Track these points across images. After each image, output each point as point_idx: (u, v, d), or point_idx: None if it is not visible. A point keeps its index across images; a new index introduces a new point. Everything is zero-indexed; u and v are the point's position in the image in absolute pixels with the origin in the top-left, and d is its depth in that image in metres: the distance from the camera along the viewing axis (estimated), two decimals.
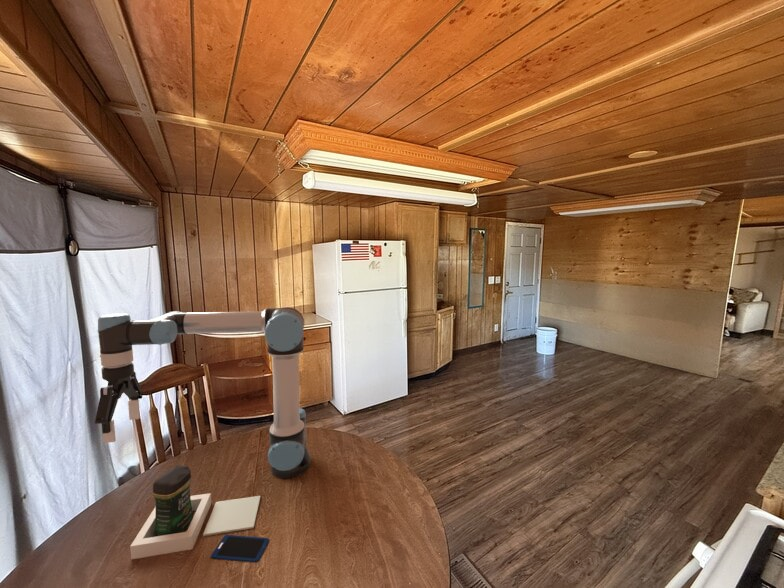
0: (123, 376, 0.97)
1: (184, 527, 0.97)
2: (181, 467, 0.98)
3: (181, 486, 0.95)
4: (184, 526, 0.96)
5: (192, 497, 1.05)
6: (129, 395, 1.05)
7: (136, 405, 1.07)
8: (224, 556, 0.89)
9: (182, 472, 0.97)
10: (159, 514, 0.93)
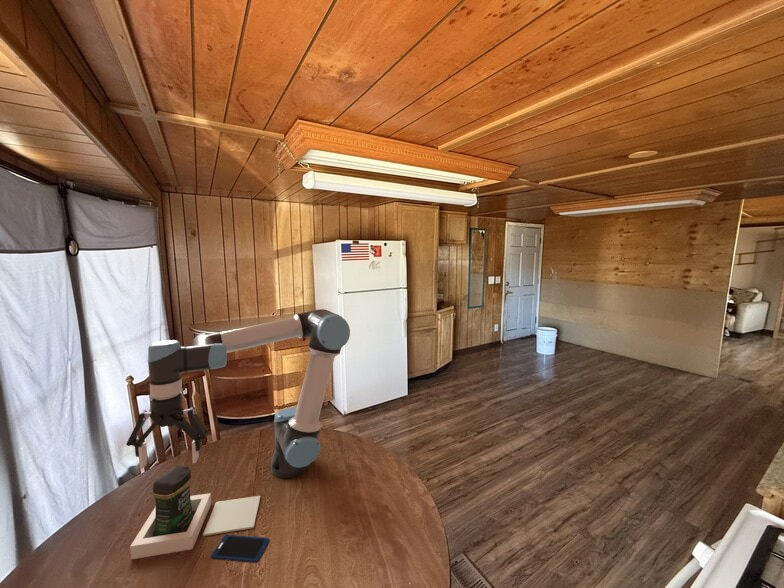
0: (152, 409, 0.90)
1: (184, 527, 0.97)
2: (181, 467, 0.98)
3: (181, 486, 0.95)
4: (184, 526, 0.96)
5: (192, 497, 1.05)
6: None
7: None
8: (224, 556, 0.89)
9: (182, 472, 0.97)
10: (159, 514, 0.93)
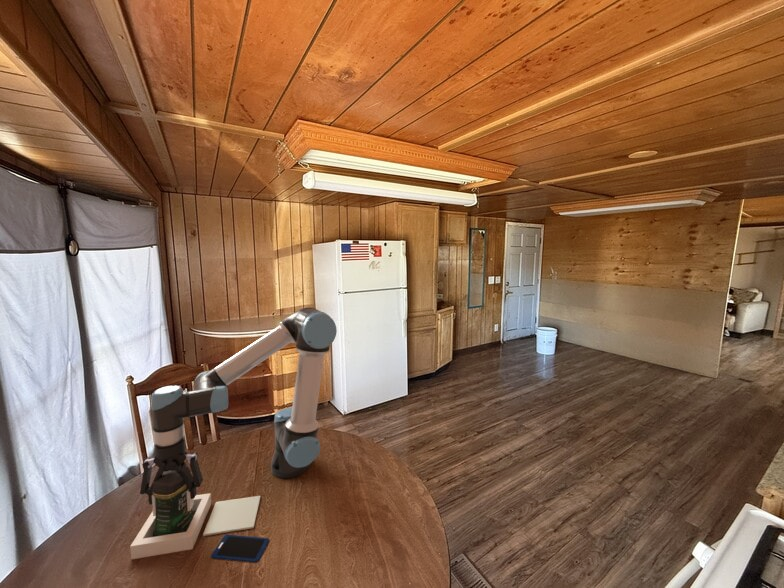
0: (155, 455, 0.92)
1: (184, 527, 0.97)
2: None
3: (181, 486, 0.95)
4: (184, 526, 0.96)
5: None
6: None
7: None
8: (224, 556, 0.89)
9: None
10: (159, 514, 0.93)
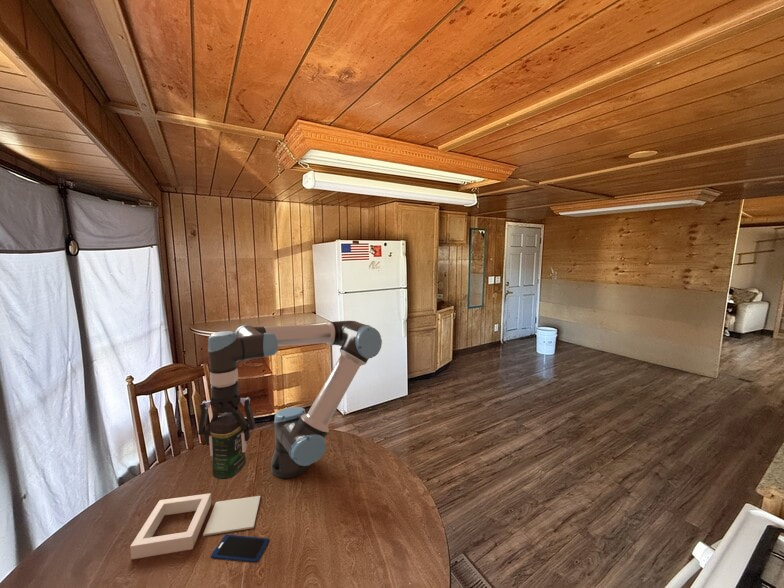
0: (213, 396, 0.95)
1: (239, 468, 1.00)
2: None
3: (236, 427, 0.98)
4: (239, 466, 1.00)
5: (192, 497, 1.05)
6: None
7: None
8: (224, 556, 0.89)
9: None
10: (217, 454, 0.97)
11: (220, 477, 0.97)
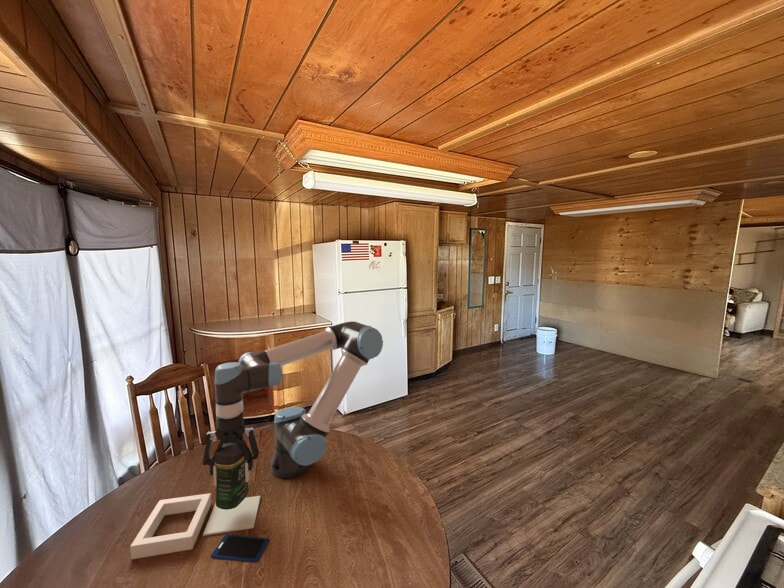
0: (218, 427, 0.97)
1: (242, 497, 1.01)
2: None
3: (241, 457, 0.99)
4: (242, 496, 1.01)
5: (192, 497, 1.05)
6: None
7: None
8: (224, 556, 0.89)
9: None
10: (221, 484, 0.98)
11: (223, 507, 0.98)
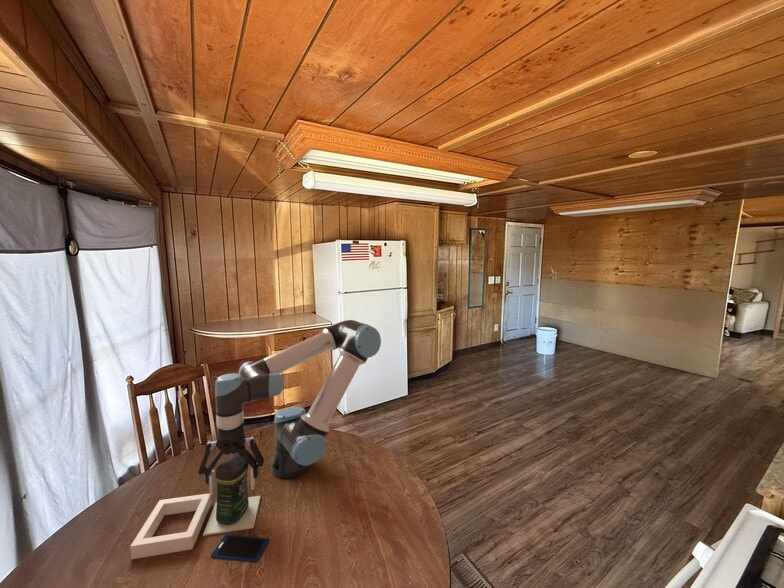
0: (219, 439, 0.97)
1: (243, 512, 1.02)
2: (239, 455, 1.04)
3: (242, 473, 1.00)
4: (243, 511, 1.02)
5: (192, 497, 1.05)
6: None
7: None
8: (224, 556, 0.89)
9: (241, 460, 1.02)
10: (222, 499, 0.98)
11: (224, 522, 0.98)
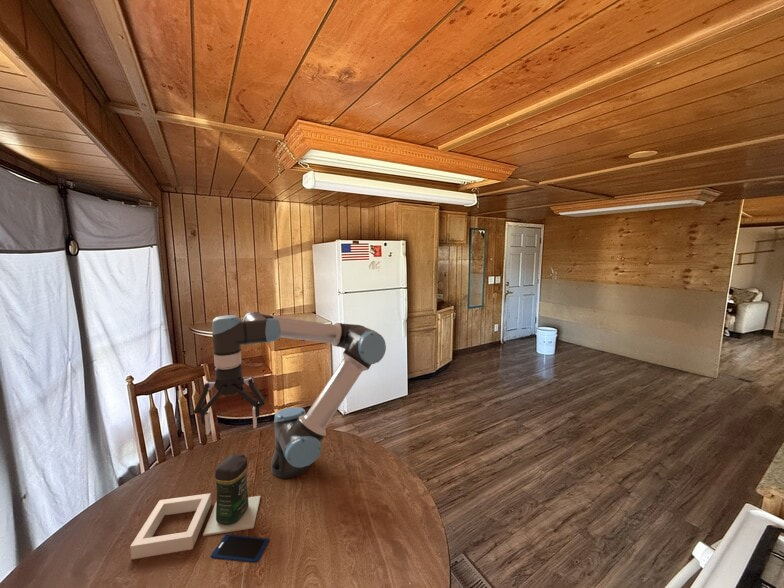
0: (217, 378, 0.97)
1: (243, 512, 1.02)
2: (238, 455, 1.04)
3: (241, 473, 1.00)
4: (242, 511, 1.02)
5: (192, 497, 1.05)
6: None
7: None
8: (224, 556, 0.89)
9: (240, 460, 1.02)
10: (221, 499, 0.98)
11: (224, 523, 0.98)
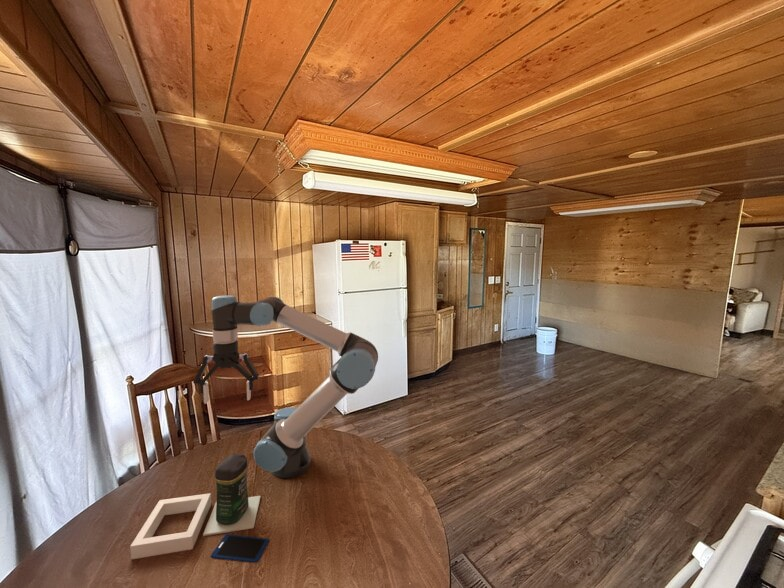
0: (215, 352, 1.07)
1: (243, 512, 1.02)
2: (238, 455, 1.04)
3: (241, 473, 1.00)
4: (242, 511, 1.02)
5: (192, 497, 1.05)
6: None
7: None
8: (224, 556, 0.89)
9: (240, 460, 1.02)
10: (221, 499, 0.98)
11: (224, 523, 0.98)
